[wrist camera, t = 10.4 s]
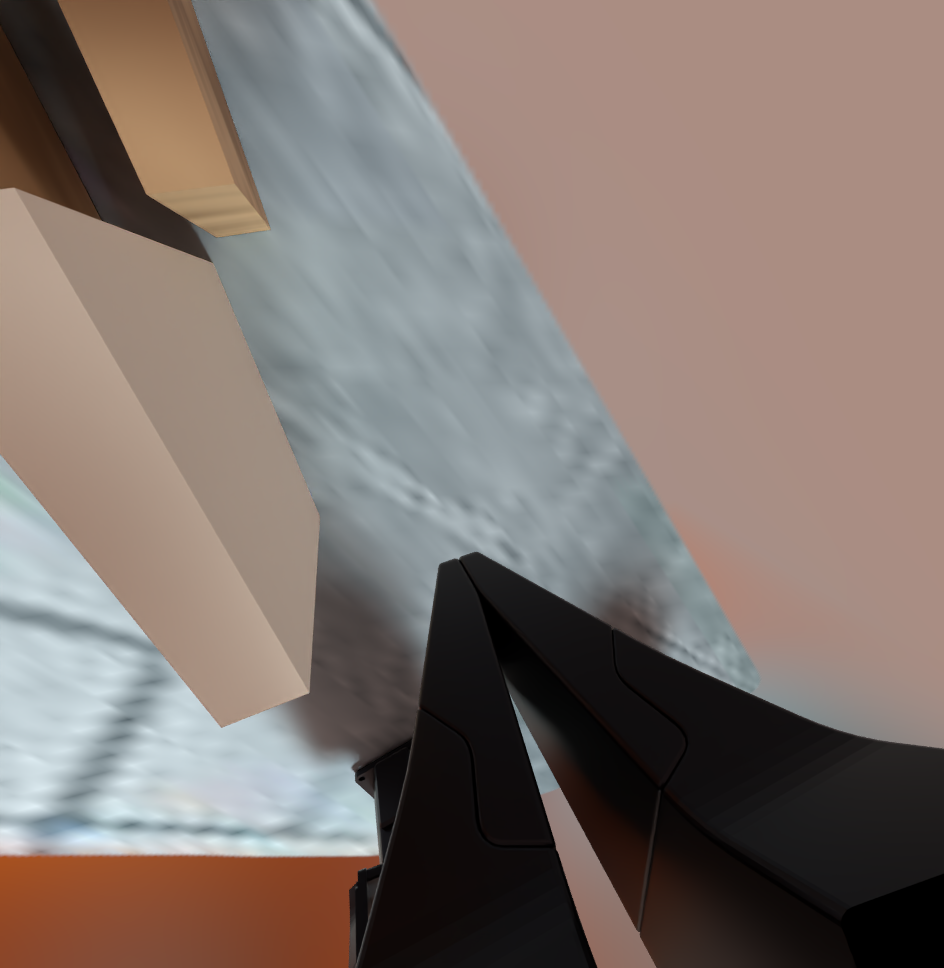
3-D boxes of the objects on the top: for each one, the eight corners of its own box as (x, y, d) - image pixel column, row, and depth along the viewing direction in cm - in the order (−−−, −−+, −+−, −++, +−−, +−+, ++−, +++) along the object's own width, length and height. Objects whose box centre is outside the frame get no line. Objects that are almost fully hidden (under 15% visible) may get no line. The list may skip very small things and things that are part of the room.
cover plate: (319, 516, 21) (309, 693, 11) (273, 530, 20) (221, 727, 11) (213, 263, 15) (14, 187, 6) (145, 274, 15) (-196, 211, 5)
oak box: (270, 229, 15) (234, 183, 10) (55, 261, 14) (-137, 229, 8) (152, -109, 11) (-23, -516, 6) (-168, -117, 10) (-833, -682, 4)
